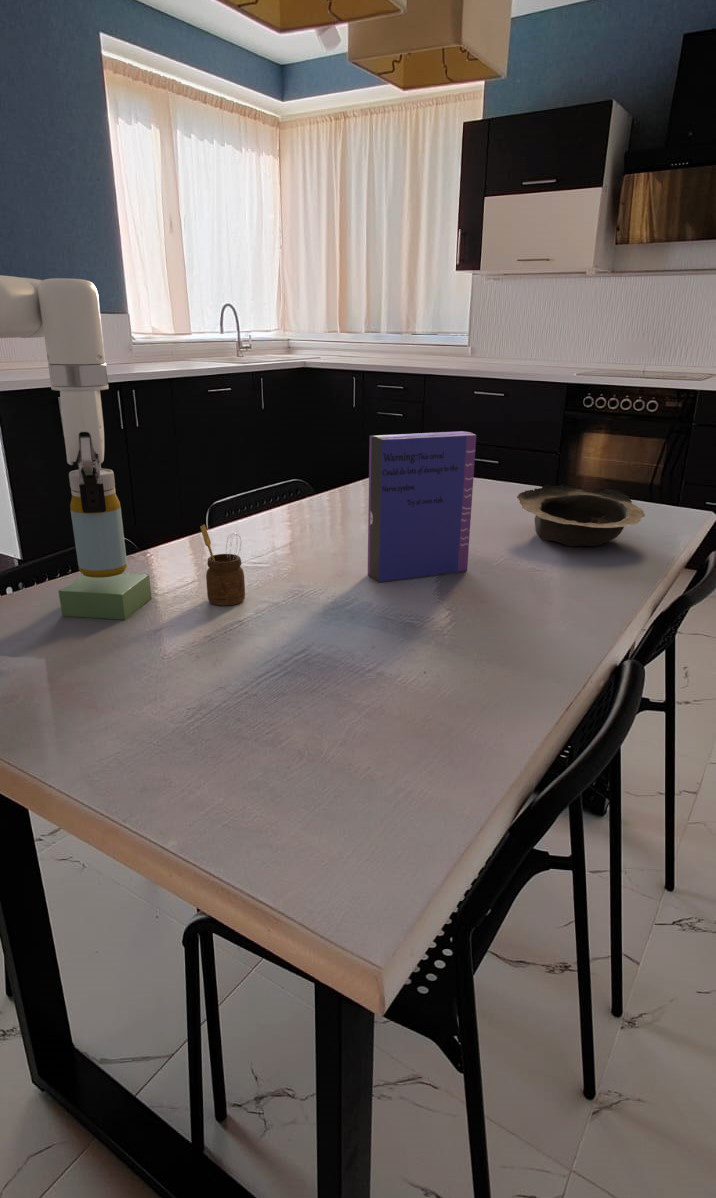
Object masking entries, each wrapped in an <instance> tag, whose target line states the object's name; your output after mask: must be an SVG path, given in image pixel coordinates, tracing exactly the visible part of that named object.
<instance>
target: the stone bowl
mask: <svg viewBox="0 0 716 1198" xmlns="http://www.w3.org/2000/svg"><path fill="white" fill-rule="evenodd" d="M516 498H517V500H518V501H519V504H520V505H521V509H523V510H525V511H526V512H527V513H530V514H533V515H535V516H534V528H535V534H536V535H537V537H539V538H541V539H543V540H544V541H549V542H550V541H551V542H552V541H555V542H557V543H560V544H563V545H565V546H568V547H571V548H575V547H579V546H580V547H599V546H602V545H603V544H604V543H608V542H610V541H612V540H615V539H617V538H618V537H619V536H620V535H621V533H622V532H623V531H624V528H625V527H628V526H632V525H633V526H634V525H637V524H639V523H640V522H641V519H642V518H645V517H646V515H645V511H644V510H643V509H642V508H641V507H639V506H638V505H636V504H634V503H632V502H633V501H632V499H630V497H629V495H627V494H624V493H622V492H621V491H619V490H617V489H609V488H604V489H603V490H601V489H599V490H590V491H588V490H585V489H579V488H576V487H572V486H569V485H565V486H564V484H563V483H562V484H560V485H550V484H544V485H543V486H542V487H539V488H534V489H528V490H524V491H521V492H519V494H517V496H516Z"/></svg>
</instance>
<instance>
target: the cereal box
mask: <svg viewBox="0 0 716 1198" xmlns="http://www.w3.org/2000/svg"><path fill="white" fill-rule="evenodd" d="M368 444H369V449H368V451H369V452H368V454H369V455H368V513H367V515H368V517H367V520H368V521H367V532H368V533H367V576H368V577H369V578H371V579H373V580H374V581H376V582H377V583H378V584H380V583H387V582H395V581H404V580H412V579H419V578H428V577H435V576H444V575H450V574H459V573H466V572H468V563H469V549H470V535H471V521H472V519H471V518H472V508H473V507H472V505H473V491H474V490H473V489H474V478H475V477H474V475H475V462H476V448H477V447H476V446H477V434H475V433H473V432H470V431H462V430H461V431H441V432H440V431H439V432H422V433H421V432H420V433H419V432H418V433H401V434H400V433H399V434H379V435H369V443H368Z"/></svg>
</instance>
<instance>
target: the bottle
mask: <svg viewBox="0 0 716 1198" xmlns="http://www.w3.org/2000/svg"><path fill="white" fill-rule="evenodd" d="M100 478H101V483H103V487H104V495H105V503H106V511H105V512H96V513H84V512H83V510H82V503H81V496H80V488H79V484H80V476H79V469H75V470H71V471H69V472H68V479H69V487H70V489H71V490H70V493H71V500H70V504H69V508H70V515H71V522H72V532H73V537H74V545H75V552H76V558H77V565H78V571H79V572H80V573H81V574H82V576H83V575H85V576H87V577H93V578H105V577H112V576H116V575H119V574H121V573H125V571H126V569H127V567H128V561H127V551H126V543H125V535H124V534H125V533H124V526H123V525H124V524H123V518H122V517H123V516H122V507H121V501H120V500H119V498H118V496H117V494H116V482H115V481H116V480H115V473H114V471H113V470H112V469H109V468H101V469H100ZM96 479H97V478H96Z"/></svg>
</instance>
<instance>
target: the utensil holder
mask: <svg viewBox="0 0 716 1198" xmlns="http://www.w3.org/2000/svg"><path fill="white" fill-rule="evenodd" d="M199 528H200V531H201V533H202V534H201V535H202V538H203V542H204V545H205V546H206V547H207V548H208V552H209V555H210V556H209V557H208V558H207V562H206V563H207V564H206V565H207V567H208V568H207V570H206V575H205V578H206V579H205V582H206V594H207V599H208V602H209V603H210V604H212V605H214V606H221V607H227V606H235V605H239V604H241V603H243V602H244V600H245V598H246V584H245V573H244V569H243V568H242V559H241V556H240V554H241V549H242V542H240V543H238V542H239V540H238V539H236V542H235V543H236V545H238V544H240V545H239V550H238V549H237V547H234V548H235V552H234V553H232V550H229V553H228V552H227V548H228V542H230V544H229V545H230V546H232V544H233V542H232V541H233V540H234V537H235V536H239V534H238V533H234V532H233V533H230V534H229V535H228V536H227V540H226V544H225V552H226V553H217V554H213V550H212V547H211V544H212V542H211V539H210V535H209V533H208V530H207V527H206V524H202V525H200V527H199ZM229 538H230V539H231V541H229ZM239 539H240V540H242V539H241V536H239ZM237 551H238V553H237ZM236 553H237V554H236Z"/></svg>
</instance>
